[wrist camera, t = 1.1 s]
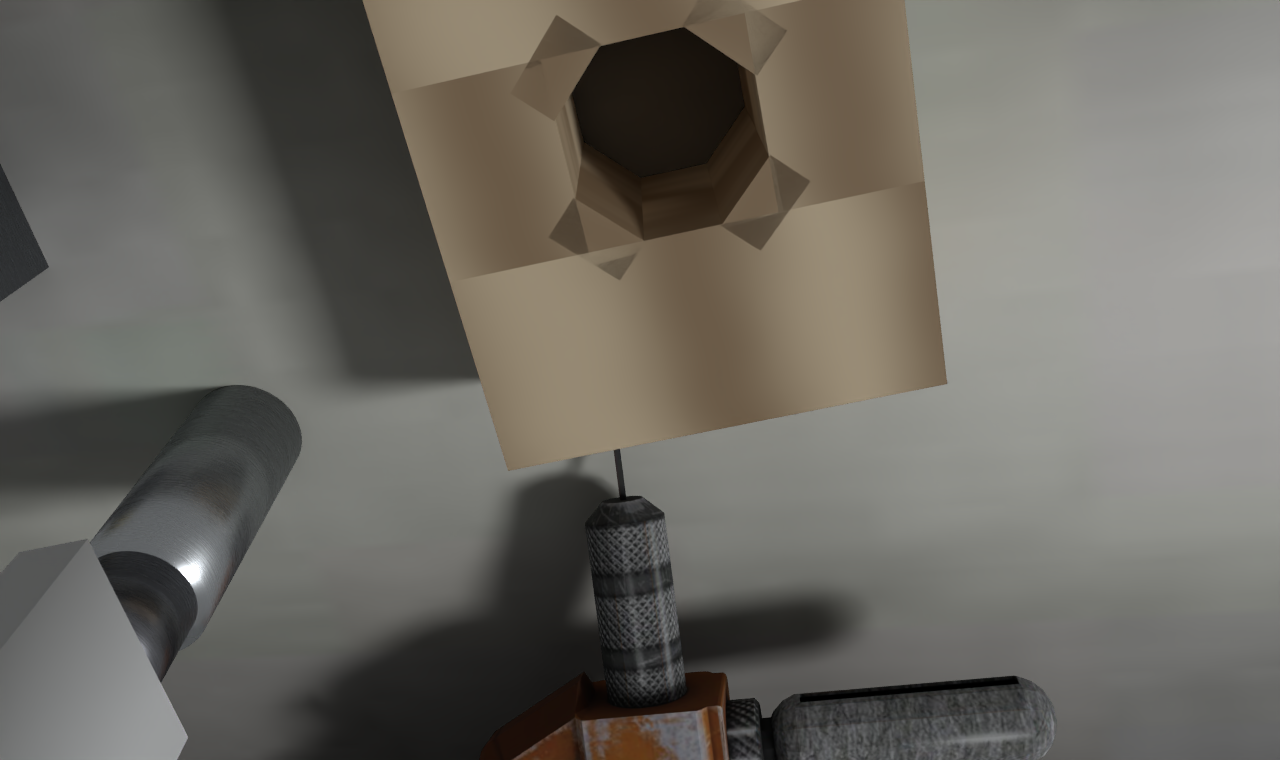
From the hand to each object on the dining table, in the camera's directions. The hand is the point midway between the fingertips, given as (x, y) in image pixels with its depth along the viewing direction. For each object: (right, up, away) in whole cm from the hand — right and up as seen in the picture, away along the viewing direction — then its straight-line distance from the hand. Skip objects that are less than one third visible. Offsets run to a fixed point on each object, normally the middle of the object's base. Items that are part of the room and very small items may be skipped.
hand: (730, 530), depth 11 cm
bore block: (0, +10, +21) cm, 23 cm away
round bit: (-14, 0, +25) cm, 29 cm away
